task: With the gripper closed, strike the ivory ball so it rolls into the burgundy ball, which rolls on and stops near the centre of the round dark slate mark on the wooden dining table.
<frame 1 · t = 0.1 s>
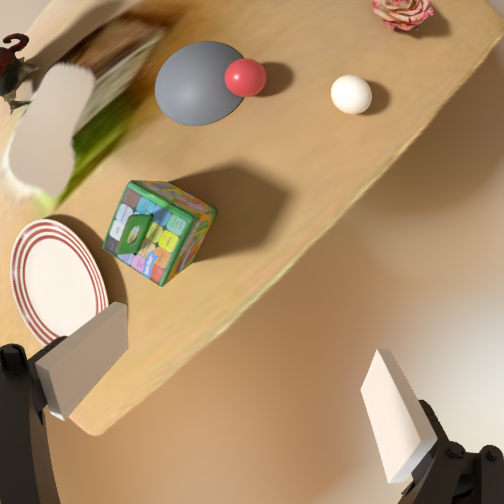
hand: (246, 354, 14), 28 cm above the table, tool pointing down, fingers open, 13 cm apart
dinner plate: (61, 288, 47), on the table
red ball: (245, 77, 34), on the table
stuffed monkey: (26, 81, 39), on the table
flower: (394, 18, 31), on the table
cue ball: (351, 94, 33), on the table
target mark: (200, 81, 37), on the table
chalk box: (179, 221, 42), on the table
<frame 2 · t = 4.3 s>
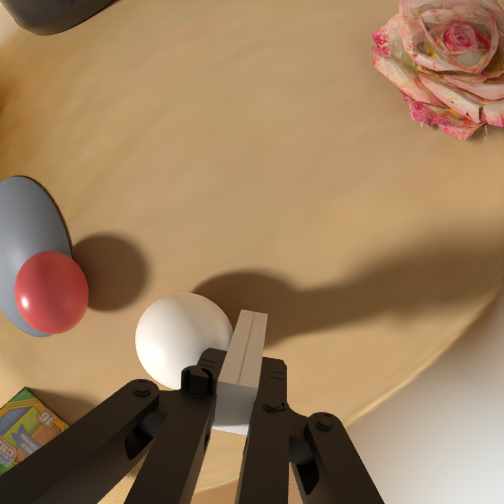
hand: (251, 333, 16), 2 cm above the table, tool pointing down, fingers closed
red ball: (51, 292, 16), on the table
flower: (425, 80, 14), on the table
cue ball: (184, 341, 16), on the table
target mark: (17, 259, 19), on the table
chalk box: (52, 426, 24), on the table
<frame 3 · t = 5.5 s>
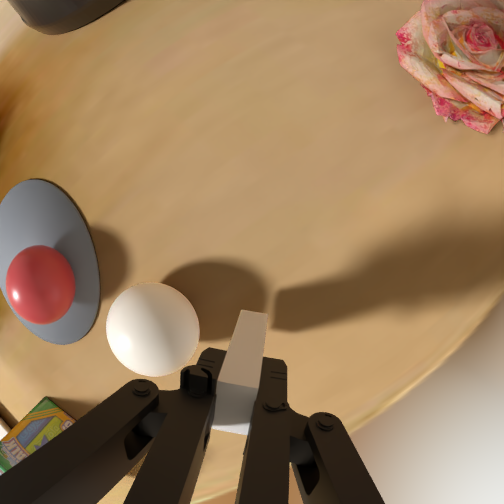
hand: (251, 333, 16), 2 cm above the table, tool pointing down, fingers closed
red ball: (40, 284, 16), on the table
flower: (443, 76, 14), on the table
cue ball: (152, 329, 16), on the table
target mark: (36, 266, 19), on the table
chalk box: (74, 435, 24), on the table
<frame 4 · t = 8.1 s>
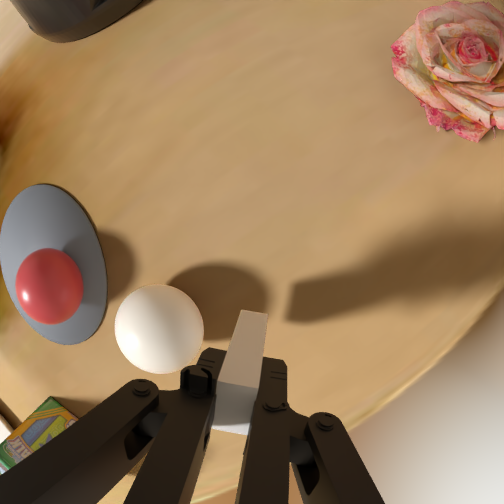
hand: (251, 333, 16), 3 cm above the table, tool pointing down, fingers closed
dinner plate: (1, 429, 30), on the table
red ball: (49, 286, 17), on the table
flower: (437, 86, 15), on the table
cue ball: (159, 329, 17), on the table
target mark: (43, 268, 20), on the table
chalk box: (78, 434, 25), on the table
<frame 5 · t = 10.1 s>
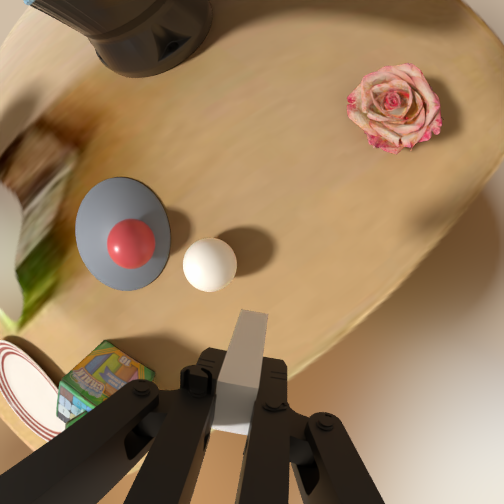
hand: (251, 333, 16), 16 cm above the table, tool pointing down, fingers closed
dinner plate: (37, 392, 44), on the table
red ball: (131, 243, 30), on the table
flower: (380, 117, 28), on the table
cue ball: (209, 264, 30), on the table
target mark: (118, 235, 33), on the table
chalk box: (123, 373, 38), on the table
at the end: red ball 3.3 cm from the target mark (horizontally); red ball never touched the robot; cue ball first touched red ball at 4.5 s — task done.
